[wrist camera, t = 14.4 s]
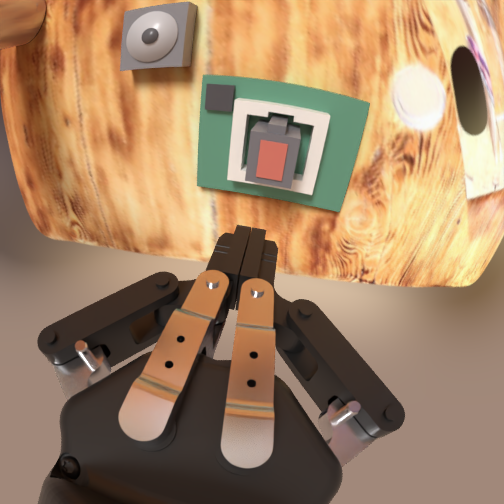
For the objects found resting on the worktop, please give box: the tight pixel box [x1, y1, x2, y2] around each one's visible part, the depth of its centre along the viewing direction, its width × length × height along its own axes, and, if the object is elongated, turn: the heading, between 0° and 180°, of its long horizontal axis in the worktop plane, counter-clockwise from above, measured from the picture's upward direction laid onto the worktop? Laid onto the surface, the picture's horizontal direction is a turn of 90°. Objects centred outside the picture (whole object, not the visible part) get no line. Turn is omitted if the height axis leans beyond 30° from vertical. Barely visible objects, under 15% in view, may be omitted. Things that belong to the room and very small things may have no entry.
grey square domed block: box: [120, 2, 197, 71], centre depth 21 cm, size 8×8×3 cm
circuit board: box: [197, 75, 370, 212], centre depth 28 cm, size 18×14×3 cm
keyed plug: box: [245, 114, 301, 189], centre depth 25 cm, size 4×6×6 cm
